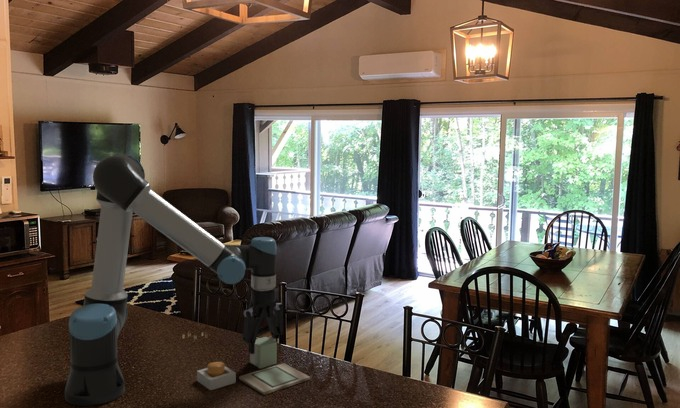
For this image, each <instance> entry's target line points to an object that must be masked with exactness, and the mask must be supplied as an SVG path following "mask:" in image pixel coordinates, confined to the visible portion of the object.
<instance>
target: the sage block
mask: <svg viewBox="0 0 680 408" xmlns="http://www.w3.org/2000/svg"><path fill="white" fill-rule="evenodd" d="M256 343H258V349H257V364H256V365H255V364H254V363H252V362H251V353H249V363H250V364H252V365H253V366H255V367H257V368H258V369H259V370H262V369H265V368H269V367H272V366H275V365H278V364H277V360H278V357H277V355H278V353H277V352H278V349H277V348H278V345H277V344H278V343H277V342H276V341H274V340H271V339H269V336H268V337H267V336H263V337H260V338H256Z"/></svg>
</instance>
